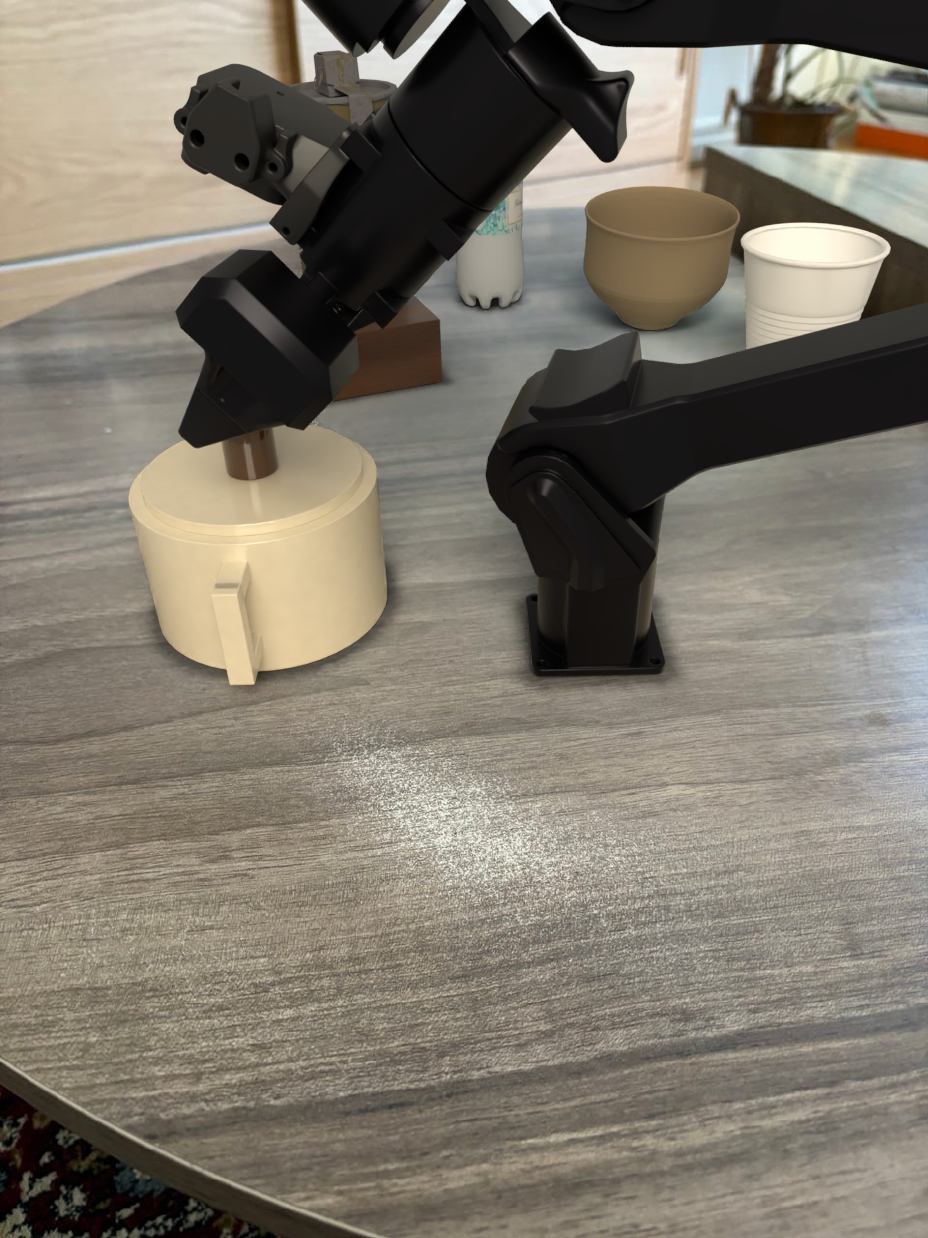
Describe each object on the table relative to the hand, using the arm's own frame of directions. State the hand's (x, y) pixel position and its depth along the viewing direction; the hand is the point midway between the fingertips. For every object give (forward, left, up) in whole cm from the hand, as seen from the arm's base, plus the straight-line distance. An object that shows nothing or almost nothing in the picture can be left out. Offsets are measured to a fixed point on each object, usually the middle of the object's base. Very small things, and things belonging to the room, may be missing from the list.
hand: (230, 397), depth 48 cm
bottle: (+48, -14, -12) cm, 51 cm away
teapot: (0, -1, -12) cm, 12 cm away
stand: (+32, -4, -12) cm, 34 cm away
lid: (0, -1, -4) cm, 4 cm away
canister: (+53, -1, -12) cm, 54 cm away
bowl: (+41, -28, -12) cm, 51 cm away
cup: (+26, -36, -12) cm, 46 cm away
